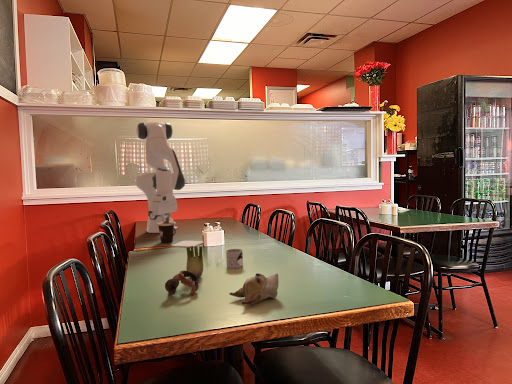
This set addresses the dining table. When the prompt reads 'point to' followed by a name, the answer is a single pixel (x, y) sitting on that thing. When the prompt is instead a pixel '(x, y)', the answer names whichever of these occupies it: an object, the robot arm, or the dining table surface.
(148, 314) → the dining table surface
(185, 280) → the brown black curved piece
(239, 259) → the mug
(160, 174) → the robot arm
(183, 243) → the grey mat
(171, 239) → the coffee mug
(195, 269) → the fennel bulb
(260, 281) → the ceramic sculpture
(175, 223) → the wooden lid
